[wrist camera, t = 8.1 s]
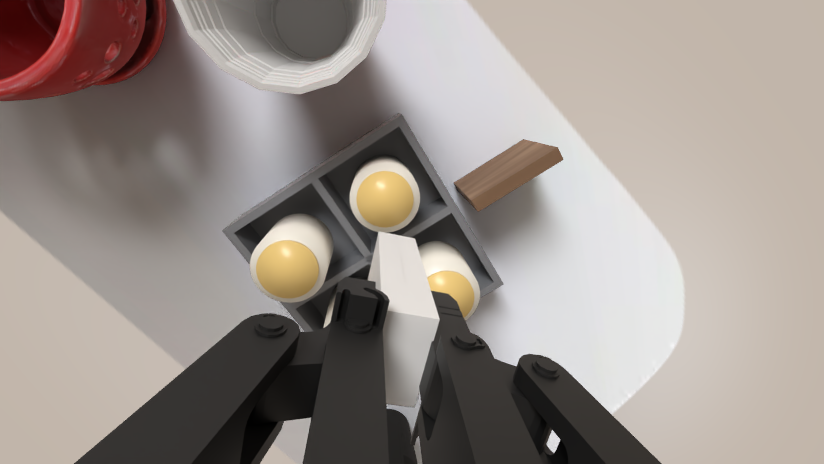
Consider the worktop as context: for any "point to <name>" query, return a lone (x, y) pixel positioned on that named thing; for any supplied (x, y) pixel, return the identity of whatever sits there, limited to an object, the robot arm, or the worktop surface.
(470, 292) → the button
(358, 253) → the button board
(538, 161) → the placard
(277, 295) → the button
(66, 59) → the plant pot
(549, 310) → the worktop surface
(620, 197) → the worktop surface
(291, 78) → the plastic cup
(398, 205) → the button
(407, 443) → the drinking cup
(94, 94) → the worktop surface
